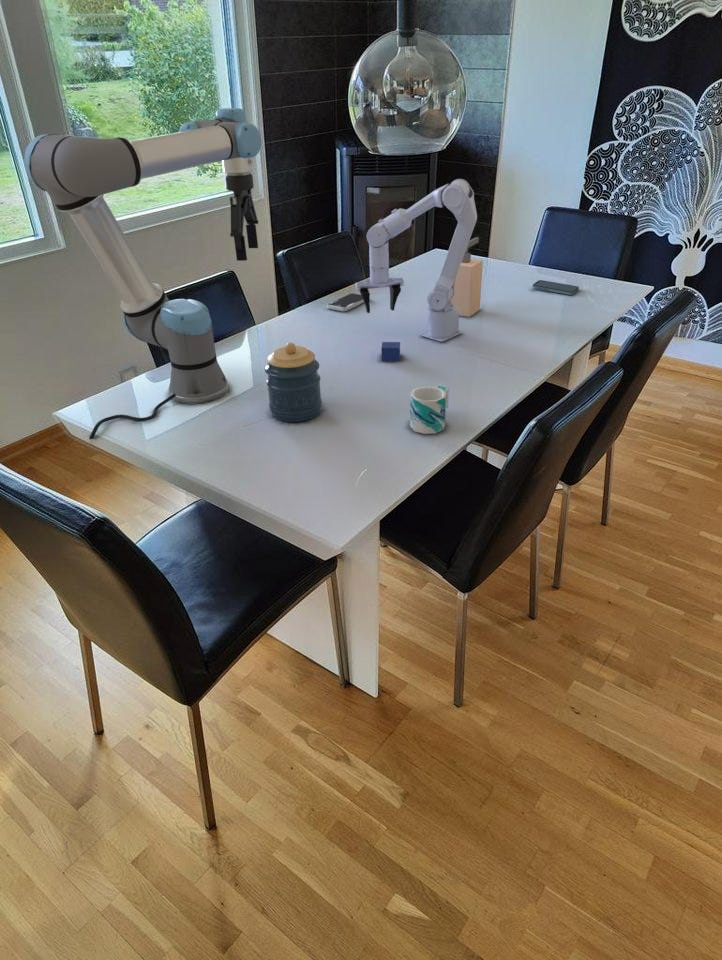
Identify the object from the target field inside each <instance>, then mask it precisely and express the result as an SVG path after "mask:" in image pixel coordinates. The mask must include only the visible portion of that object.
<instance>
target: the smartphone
mask: <svg viewBox="0 0 722 960" xmlns="http://www.w3.org/2000/svg"><path fill="white" fill-rule="evenodd" d="M361 304H364V300H363V298H362V295H361V294H360V293H351V292H350V293H348V294H346V295H344V296H342V297H339V298H338V299H336V300H333V301H331V302H329V303H327V304H326V305H327V310H334V311H337V312H347V311H349V310H352V309H353V308H355V307H358V306H359V305H361Z"/></svg>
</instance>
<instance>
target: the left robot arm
mask: <svg viewBox="0 0 722 960" xmlns="http://www.w3.org/2000/svg"><path fill="white" fill-rule="evenodd" d="M262 143H263V142H262V135H261V132H260V131H259V129H258V127H257V126H256V125H254V124H253V123H249V122H247V117H246V113H245V110H243V108H240V107H228V108H219V109H217V110H216V111H215V118H214V119H207V120H206V119H205V120H204V119H203V120H196V121H194V120H192V121H189V122H185V123H183V124H182V125H181V126H180V128H179V129H178V132H173V133H167V134H163V135H162V134H161V135H155V136H152V137H151V136H150V137H145V138H140V139H134V140H129V139H128V138H126V137H124V136H118V137H112V138H99V137H92V136H91V137H90V136H84V135H83V136H82V135H67V134H60V133H56V132H50V133H46V134H40V135H38V136H35V137H34V138H33V139H31V140H30V142H29V143H28V145H27V147H26V149H25V152H24V158H23V159H24V160H23V163H24V164H23V165H24V169H25V172H26V175H27V176H28V178H29V180H30V181H31V182H32V184H34V186H35V187H37V188H38V189H39V190H41V191H43V192H46V193H47V195H48V196H49V197H50V199H51V201H52V202H53V204H54V205H55V207H56V208H57V210H58V211H59V212H62V213H65V214H68V215H69V216H70V218H71V220H72V221H73V222H74V224H75V226H76V228H77V229H78V230H79V232H80V234H81V236H82V237H83V238H84V240H85V242H86V244H87V245H88V247H89V248H90V250H91V252H92V253H93V255H94V256H95V258H96V259H97V261H98V263H99V264H100V266H101V268H102V270H103V271H104V272H105V274H106V276H107V277H108V279H109V280H110V282H111V283H112V285H113V287H114V288H115V290H116V291H117V293H118V295H119V297H120V298H121V301H120V306H119V307H120V309H121V311H122V313H123V315H122V316H121V317H122V322H123V325H124V327H125V329H126V330H127V332H128V333H129V334H130V335H131V336H132V337H134V338H135V339H137V340H139V341H141V342H143V343H147V344H151V345H154V346H157V347H160V348H162V349H165V350H167V352H168V356H169V361H170V367H171V369H170V370H171V371H170V377H169V386H168V393H169V396H168V397H166V398H165V399H164V400H162V401H161V402H159V403H158V404H156V406H155V407H154V408H153V411H152V414H151V415H148V416H145V417H136V416H132V415H129V414H128V415H127V414H114V415H111V416H107V417H104V418H102V419H100V420H98V422H97V423H96V424H95V425H94V427H93V429H92V431H91V433H90V435H89V438H88V439H89V440H93V439H94V438H95V435H96V433H97V431H98V429H99V427H100V426H101V425H102V424H104V423H106V422H109V421H112V420H117V419H127V420H131V421H136V422H146V421H150V420H153V419H154V418H156V416H157V412H158V410H159V409H160V408H161V407H162V406H164V405H165V404H167V403H169V402H170V401H172V400H173V401H175V402H177V403H180V404H188V405H189V404H190V405H196V404H197V405H198V404H204V403H208V402H212V401H214V400H217V399H219V398H221V397H223V396H224V395H225V394H227V392H228V391H229V383H228V379H227V378H226V375H225V374H224V372H223V370H222V368H221V366H220V363H219V362H218V358H217V352H216V346H215V338H214V331H213V326H212V319H211V315H210V310H209V309H208V307H207V306H206V305H205V304H204V302H203V303H202V302H201V301H198V300H195V299H191V298H188V299H185V298H176V299H171V300H170V299H169V298H168V296H167V294H166V293H165V291H164V289H163V287H162V286H161V285H160V284H157V283H154V282H152V280H151V278H150V276H149V275H148V272H147V271H146V269H145V267H144V266H143V264H142V263H141V261H140V259H139V258H138V255H137V254H136V252H135V250H134V249H133V247H132V245H131V242H129V239H128V238H127V236H126V235H125V233H124V230H123V229H122V227H121V226H120V224H119V222H118V220H117V219H116V217H115V215H114V213H113V212H112V210H111V208H110V206H109V205H108V203H107V201H106V199H105V198H104V195H106V194H111V193H114V192H117V191H120V190H125V189H128V188H132V187H136V186H138V185H139V184H140V183H141V181H142V180H144V179H148V178H152V177H157V176H160V175H167V174H170V173H174V172H178V171H184V170H187V169H193V168H197V167H201V166H204V165H205V166H206V165H208V164H213V163H218V162H222V171H223V173H224V174H225V175H224V183H225V190H227V191H229V192H232V193H233V196H229V201H230V202H229V203H230V233H229V235H230V237H231V238H233V241H234V248H235V256H236V261H241V262H242V261H245V262H246V261H248V257H247V249H246V239H247V246H248V249H258V248H259V243H258V242H259V241H258V234H257V225H259V220H258V215H257V213H256V208H255V205H254V200H253V195H252V190H253V189H254V177H253V174H252V173H251V172H252V171H253V170H252V169H253V168H252V164H253V163H254V161H253V158H254V157H257V155H258V154H259V153H260V151H261V148H262ZM244 222H245V223H246V224H245V230H246V237H247V238H246V239H245V235H244Z"/></svg>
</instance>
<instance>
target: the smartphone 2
mask: <svg viewBox="0 0 722 960" xmlns="http://www.w3.org/2000/svg"><path fill="white" fill-rule="evenodd" d="M531 288H532V289H533V290H539V291H545V292H551V293H557V294H562V295H568V296H573V295H574V294H575V293H577V292H578V291H579V289H580V287H579V286H578V285H572V284H566V283H561V282H555V281H549V280H545V279H539V280H537V281H536V282H534V283H532V285H531Z"/></svg>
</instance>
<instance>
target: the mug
mask: <svg viewBox="0 0 722 960" xmlns="http://www.w3.org/2000/svg"><path fill="white" fill-rule="evenodd" d="M449 393H450V388H449V387H445V386H441V385H438V386H437V387H436V386H432V385H429V386H428V385H427V386H419V387H416V388H414V389H412V390H411V392H410V395H409V396H410V397H409V398H410V399H409V401H410V403H409V420H410V421H409V426H410V429H412V431H414V432H415V433H418V434H423V435H430V434H432V435H433V434H438V433H440V432H442V431H444V429H445V426H446V412H447V411H446V410H447V408H448V407H449Z"/></svg>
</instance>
